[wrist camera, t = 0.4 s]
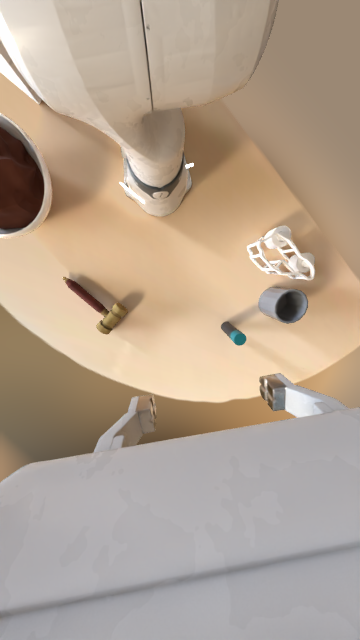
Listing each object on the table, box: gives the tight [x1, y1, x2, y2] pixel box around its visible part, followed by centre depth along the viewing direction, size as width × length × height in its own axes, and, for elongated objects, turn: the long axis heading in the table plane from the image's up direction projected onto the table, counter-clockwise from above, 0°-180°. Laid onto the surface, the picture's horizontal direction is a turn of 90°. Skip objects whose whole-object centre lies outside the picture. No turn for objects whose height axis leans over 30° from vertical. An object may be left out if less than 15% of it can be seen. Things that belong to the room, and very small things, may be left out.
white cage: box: [247, 226, 315, 280], centre depth 53 cm, size 20×11×7 cm, turn 51°
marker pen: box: [221, 322, 246, 345], centre depth 55 cm, size 4×4×12 cm
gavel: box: [63, 277, 128, 334], centre depth 54 cm, size 21×5×10 cm
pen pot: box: [259, 287, 308, 324], centre depth 55 cm, size 10×10×10 cm
